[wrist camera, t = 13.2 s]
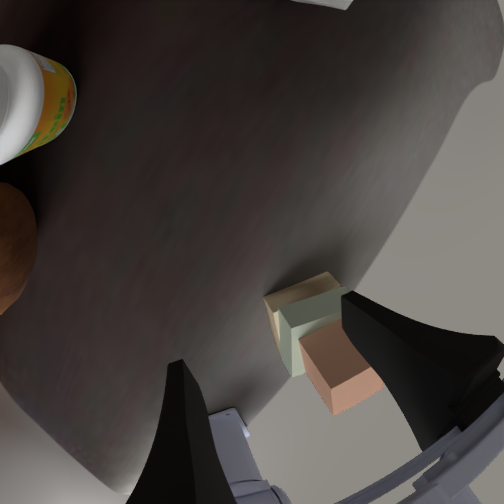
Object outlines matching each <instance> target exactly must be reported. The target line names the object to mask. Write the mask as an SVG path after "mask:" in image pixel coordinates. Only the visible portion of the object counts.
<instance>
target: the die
mask: <svg viewBox="0 0 504 504" xmlns="http://www.w3.org/2000/svg"><path fill="white" fill-rule="evenodd" d="M292 1H296V2H302V3H309V4H316V5H322V6H327V7H333V8H338V9H343V10H346V9H347V8H348V6H349V5H350V4H351V2H352V1H353V0H292Z"/></svg>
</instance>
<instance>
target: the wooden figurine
mask: <svg viewBox="0 0 504 504" xmlns="http://www.w3.org/2000/svg"><path fill="white" fill-rule="evenodd" d="M36 255H37V225H36V219H35V214H34V211H33V209H32V207H31V205H30V202H29V201H28V199H27V198H26V197H25V195H24V194H23V193H22V191H20V190H18V189H17V188H15V187H13V186H12V185H10V184H9V183H1V182H0V315H2V313H3V312H4V311H5V310H6V309H7V308H8V307H9V306H10V305H11V304H12V303H13V302H15V301H16V300H17V299H18V298H19V296H20V294H21V293H22V291H23V289H24V287H25V285H26V283H27V280H28V278H29V275H30V273H31V270H32V268H33V266H34V263H35V259H36Z"/></svg>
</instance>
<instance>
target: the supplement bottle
mask: <svg viewBox="0 0 504 504" xmlns="http://www.w3.org/2000/svg"><path fill="white" fill-rule="evenodd" d="M76 98H77V92H76V85H75V82H74V79H73V77H72V75H71V74H70V72H69V71H68V70H67V69H66V68H65V67H64V66H63V65H61V64H59V63H58V62H55V61H53V60H51V59H48V58H46V57H43V56H41V55H38V54H36V53H33V52H31V51H28V50H25V49H23V48H20V47H17V46H12V45H0V165H1V164H4V163H5V162H8V161H10V160H11V159H13V158H15V157H17V156H20V155H22V154H24V153H26V152H28V151H30V150H32V149H35V148H37V147H39V146H42V145H44V144H46V143H48V142H50V141H51V140H53V139H54V138H56V137H57V136H58V135H59V134H60V133H61V132H62V131H63V130H64V129H65V127H66V126H67V125H68V123H69V121H70V119H71V117H72V115H73V113H74V110H75V105H76Z"/></svg>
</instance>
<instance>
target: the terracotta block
mask: <svg viewBox="0 0 504 504" xmlns="http://www.w3.org/2000/svg"><path fill="white" fill-rule="evenodd" d="M298 341H299V345H300V350H301V354H302V359H303V363H304V367H305V372H306V374H307V375H308V377H309V378H310V380H311V381H312V383H313V385H314V386H315V388H316V390H317V391H318V393H319V394H320V396H321V398H322V399H323V401H324V403H325V404H326V406H327V407H328V409H329V410H330V412H331V414H332V415H333V416H336V415H338V414H340V413H341V412H343V411H345V410H347V409H349V408H350V407H352V406H354V405H356V404H358V403H359V402H361V401H363V400H364V399H366V398H368V397H369V396H371V395H373V394H374V393H376V392H378V391H379V390H381V389H383V385H384V382H383V381H382V379H381V378H380V377H379V376H378V374H377V373H376V372H375V371H374V370H373V368H372V367H371V366H370V365H369V364H368V363H367V361H366V360H365V359H364V358H363V357H362V355H361V354H360V353H359V352H358V351H357V349H356V348H355V347H354V346H353V344H352V343H351V341H350V340H349V338H348V337H347V335H346V333H345V332H344V330H343V329H342V318H341V319H339V320H337V321H335V322H333V323H331V324H329V325H327V326H325V327H323V328H321V329H319V330H317V331H315V332H313V333H311V334H309V335H307V336H305V337H303V338H301V339H298Z"/></svg>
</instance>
